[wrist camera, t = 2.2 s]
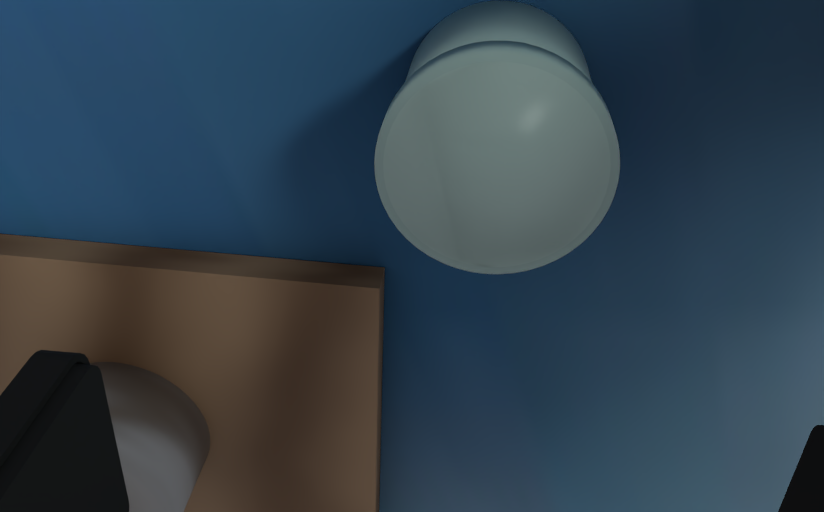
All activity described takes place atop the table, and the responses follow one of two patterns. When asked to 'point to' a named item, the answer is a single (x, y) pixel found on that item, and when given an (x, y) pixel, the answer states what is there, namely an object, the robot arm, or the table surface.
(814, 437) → the robot arm
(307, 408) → the stud board
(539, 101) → the cap
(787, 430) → the table surface
